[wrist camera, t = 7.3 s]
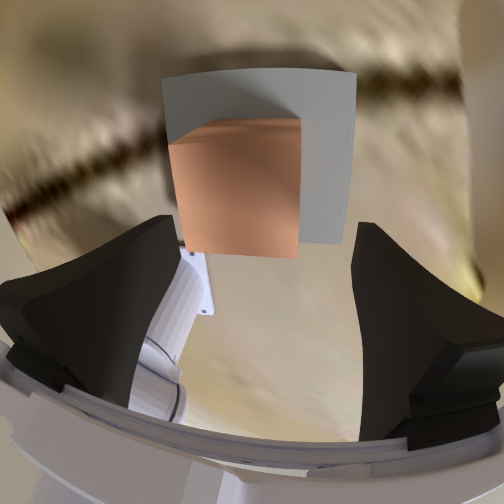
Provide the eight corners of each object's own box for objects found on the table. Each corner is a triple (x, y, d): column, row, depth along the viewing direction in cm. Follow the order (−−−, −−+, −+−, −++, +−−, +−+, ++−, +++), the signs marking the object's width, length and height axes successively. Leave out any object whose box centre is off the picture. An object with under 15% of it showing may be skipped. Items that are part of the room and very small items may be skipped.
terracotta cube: (219, 197, 18) (186, 251, 13) (212, 119, 15) (167, 145, 10) (299, 199, 17) (296, 258, 12) (301, 119, 14) (301, 142, 9)
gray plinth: (194, 218, 22) (183, 235, 20) (177, 77, 15) (160, 78, 13) (337, 226, 20) (341, 244, 18) (348, 73, 14) (356, 73, 12)
